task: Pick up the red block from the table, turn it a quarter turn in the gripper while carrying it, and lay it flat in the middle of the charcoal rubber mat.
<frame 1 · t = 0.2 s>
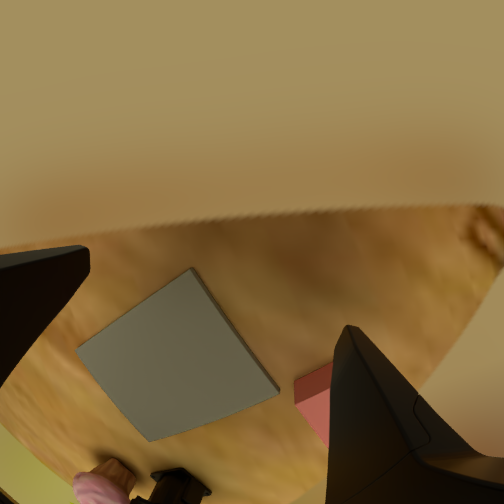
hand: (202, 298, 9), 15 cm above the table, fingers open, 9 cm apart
mat: (165, 371, 27), on the table
cupcake: (119, 467, 31), on the table
red block: (335, 396, 25), on the table
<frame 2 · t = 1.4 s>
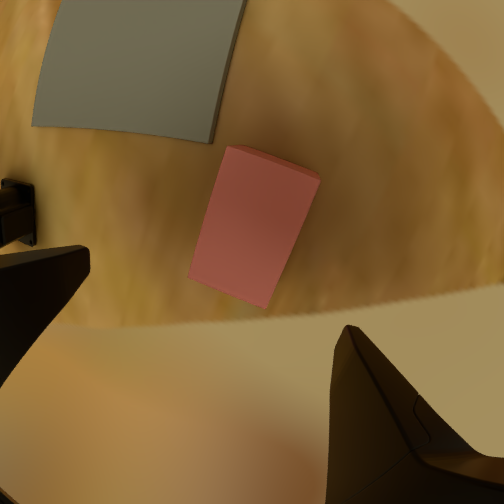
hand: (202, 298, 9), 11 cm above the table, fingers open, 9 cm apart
mat: (121, 43, 16), on the table
red block: (259, 215, 19), on the table
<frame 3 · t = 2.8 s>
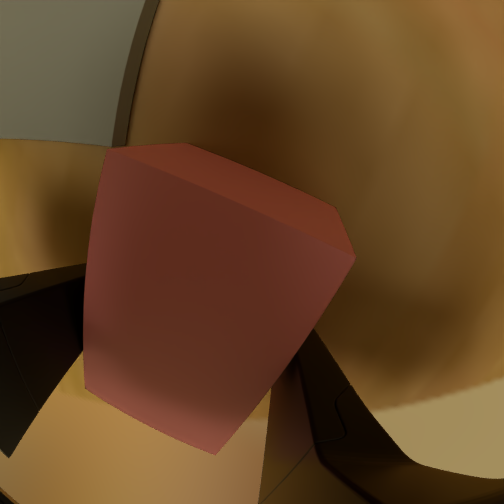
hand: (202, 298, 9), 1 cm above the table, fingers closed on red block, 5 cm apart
mat: (26, 13, 7), on the table
red block: (214, 280, 10), on the table, touching gripper
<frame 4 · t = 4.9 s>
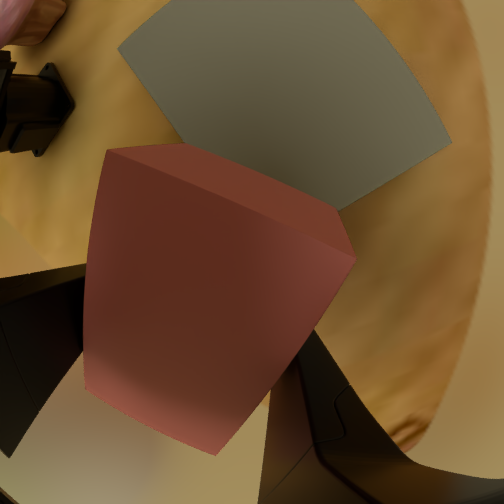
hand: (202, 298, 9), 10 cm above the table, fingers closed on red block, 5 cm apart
mat: (275, 71, 15), on the table
cupcake: (50, 18, 15), on the table
red block: (214, 281, 10), point 9 cm above the table, touching gripper
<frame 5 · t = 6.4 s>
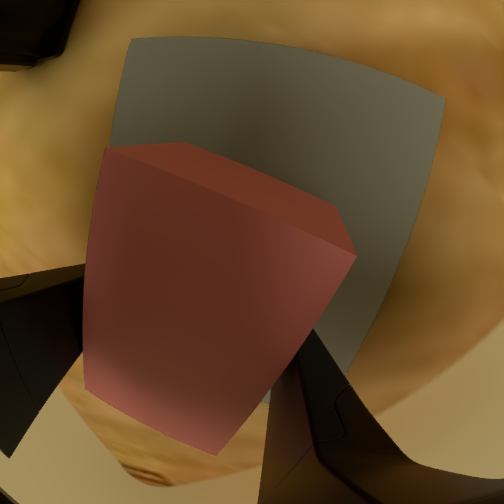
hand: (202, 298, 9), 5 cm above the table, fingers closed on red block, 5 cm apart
mat: (239, 246, 13), on the table
red block: (214, 280, 10), point 4 cm above the table, touching gripper
when the fingers open (3 cm above the table, at t = 7.2 s): red block stays where it is, resting on mat.
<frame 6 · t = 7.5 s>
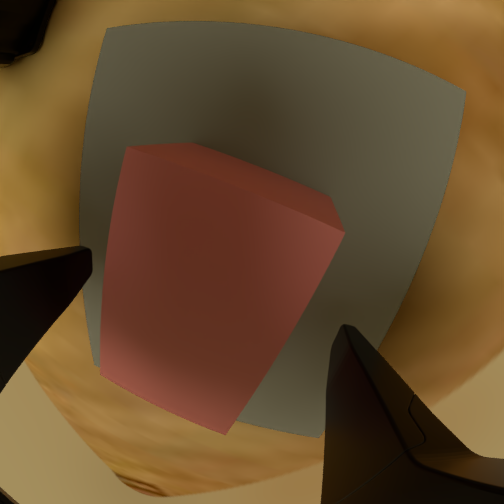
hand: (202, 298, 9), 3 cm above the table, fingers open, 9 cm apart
mat: (227, 261, 12), on the table
red block: (221, 268, 11), point 1 cm above the table, touching mat
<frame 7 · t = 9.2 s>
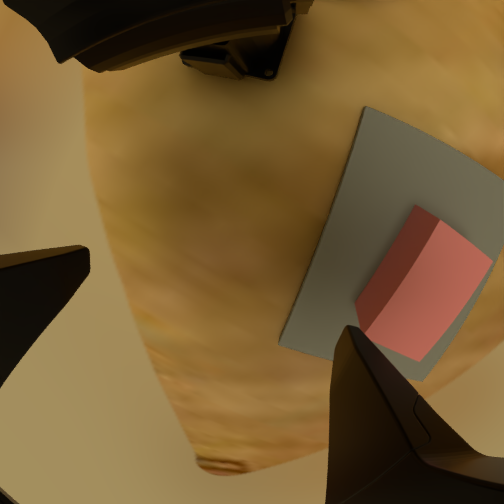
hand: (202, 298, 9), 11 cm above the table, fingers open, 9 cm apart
mat: (409, 268, 19), on the table
red block: (412, 272, 18), point 1 cm above the table, touching mat
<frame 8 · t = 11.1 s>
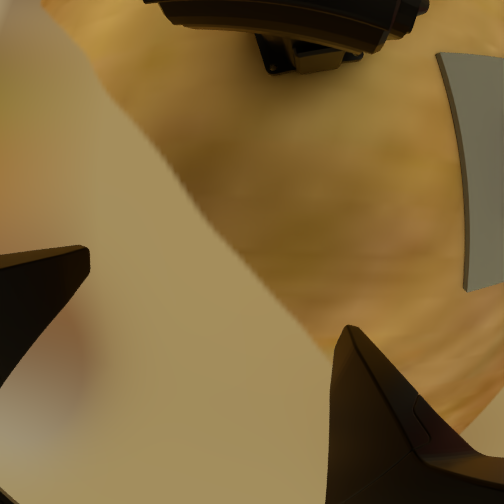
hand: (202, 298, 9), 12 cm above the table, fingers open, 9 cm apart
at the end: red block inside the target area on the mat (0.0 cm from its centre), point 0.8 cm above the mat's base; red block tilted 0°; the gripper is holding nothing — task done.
